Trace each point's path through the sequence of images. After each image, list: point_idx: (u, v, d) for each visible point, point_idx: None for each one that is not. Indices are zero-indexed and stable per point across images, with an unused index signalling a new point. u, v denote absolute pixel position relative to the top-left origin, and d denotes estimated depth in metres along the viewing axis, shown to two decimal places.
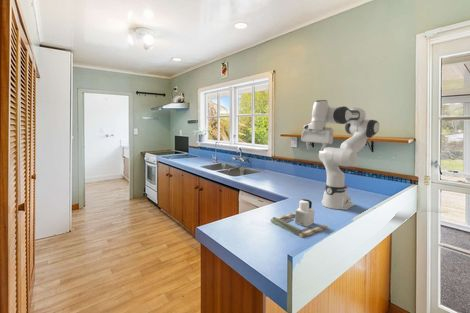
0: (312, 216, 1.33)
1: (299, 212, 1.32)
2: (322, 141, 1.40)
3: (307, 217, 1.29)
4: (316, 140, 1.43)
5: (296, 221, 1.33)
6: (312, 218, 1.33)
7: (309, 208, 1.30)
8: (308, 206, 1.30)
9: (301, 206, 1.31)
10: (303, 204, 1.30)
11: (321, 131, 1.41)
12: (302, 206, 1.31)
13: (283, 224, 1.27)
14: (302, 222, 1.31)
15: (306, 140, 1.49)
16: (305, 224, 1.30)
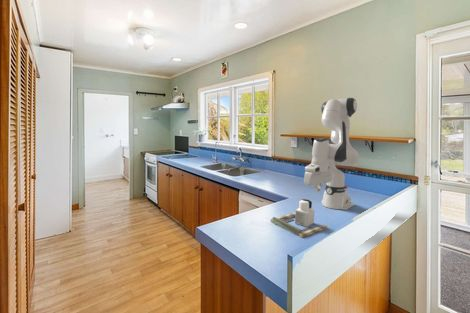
0: (312, 216, 1.33)
1: (299, 212, 1.32)
2: (327, 181, 1.39)
3: (307, 217, 1.29)
4: (323, 181, 1.36)
5: (296, 221, 1.33)
6: (312, 218, 1.33)
7: (309, 208, 1.30)
8: (308, 206, 1.30)
9: (301, 206, 1.31)
10: (303, 204, 1.30)
11: (326, 171, 1.37)
12: (302, 206, 1.31)
13: (283, 224, 1.27)
14: (302, 222, 1.31)
15: (314, 183, 1.32)
16: (305, 224, 1.30)
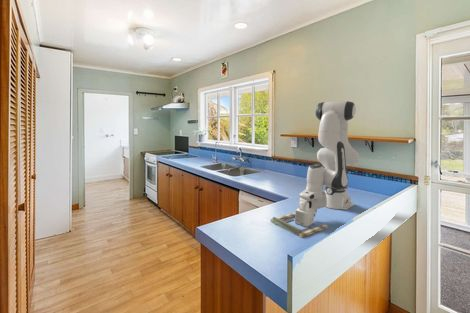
0: (312, 216, 1.33)
1: (299, 212, 1.32)
2: (322, 206, 1.39)
3: (307, 217, 1.29)
4: (317, 207, 1.37)
5: (296, 221, 1.33)
6: (312, 218, 1.33)
7: (309, 208, 1.30)
8: (308, 206, 1.30)
9: (301, 206, 1.31)
10: (303, 204, 1.30)
11: None
12: (302, 206, 1.31)
13: (283, 224, 1.27)
14: (302, 222, 1.31)
15: None
16: (305, 224, 1.30)
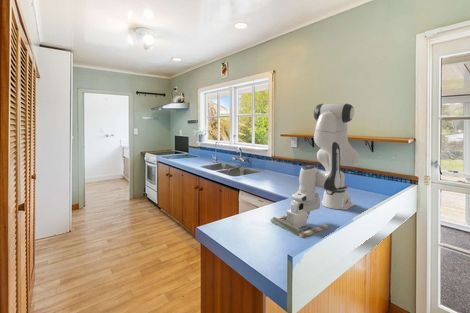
0: (304, 218, 1.29)
1: (289, 213, 1.30)
2: (315, 208, 1.36)
3: (296, 219, 1.26)
4: (310, 209, 1.33)
5: (287, 222, 1.32)
6: (304, 221, 1.29)
7: (299, 210, 1.27)
8: None
9: None
10: (293, 205, 1.28)
11: (314, 199, 1.34)
12: None
13: (283, 224, 1.27)
14: (292, 224, 1.29)
15: None
16: None
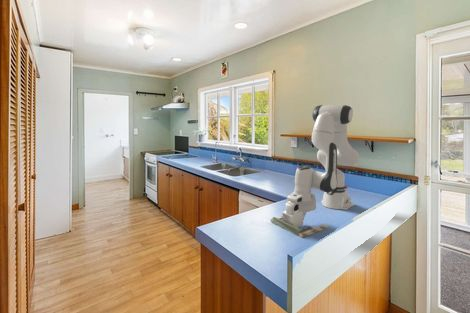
0: (300, 218, 1.27)
1: (285, 214, 1.28)
2: (311, 209, 1.34)
3: (292, 220, 1.25)
4: (306, 210, 1.31)
5: None
6: (301, 221, 1.28)
7: (294, 211, 1.25)
8: None
9: None
10: (288, 207, 1.26)
11: (309, 200, 1.32)
12: (287, 208, 1.27)
13: (283, 224, 1.27)
14: None
15: None
16: None
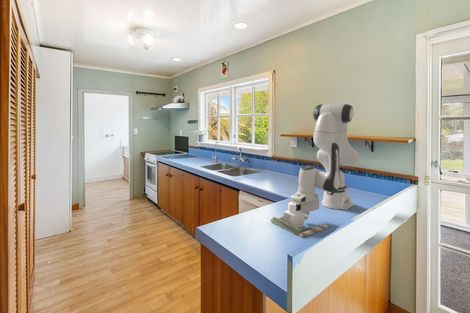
0: (301, 219, 1.27)
1: (286, 214, 1.29)
2: (314, 209, 1.36)
3: (293, 219, 1.25)
4: (310, 209, 1.33)
5: None
6: (302, 222, 1.28)
7: (296, 211, 1.26)
8: (295, 208, 1.26)
9: (289, 208, 1.28)
10: (290, 206, 1.27)
11: (313, 199, 1.34)
12: (289, 208, 1.28)
13: (283, 224, 1.27)
14: None
15: None
16: None
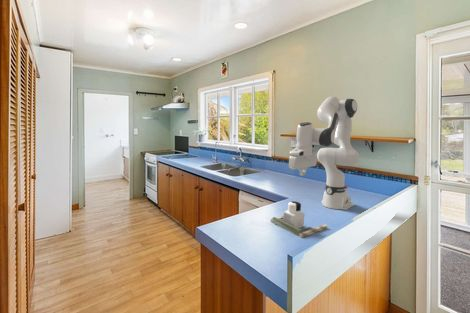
0: (301, 219, 1.27)
1: (286, 214, 1.29)
2: (312, 165, 1.41)
3: (293, 220, 1.25)
4: (307, 165, 1.39)
5: None
6: (301, 222, 1.28)
7: (296, 211, 1.26)
8: (295, 208, 1.26)
9: (289, 208, 1.28)
10: (290, 206, 1.27)
11: (310, 155, 1.39)
12: (289, 208, 1.28)
13: (283, 224, 1.27)
14: None
15: (298, 167, 1.34)
16: None
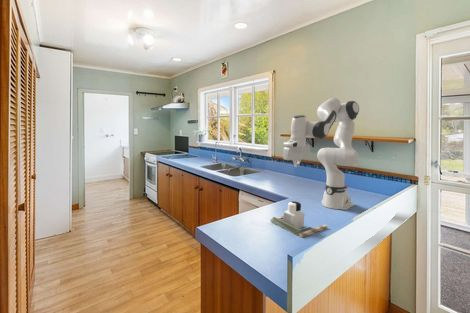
0: (301, 219, 1.27)
1: (286, 214, 1.29)
2: (306, 157, 1.46)
3: (293, 220, 1.25)
4: (301, 156, 1.43)
5: None
6: (301, 222, 1.28)
7: (296, 211, 1.26)
8: (295, 208, 1.26)
9: (289, 208, 1.28)
10: (290, 206, 1.27)
11: (304, 147, 1.44)
12: (289, 208, 1.28)
13: (283, 224, 1.27)
14: None
15: (292, 158, 1.39)
16: None
